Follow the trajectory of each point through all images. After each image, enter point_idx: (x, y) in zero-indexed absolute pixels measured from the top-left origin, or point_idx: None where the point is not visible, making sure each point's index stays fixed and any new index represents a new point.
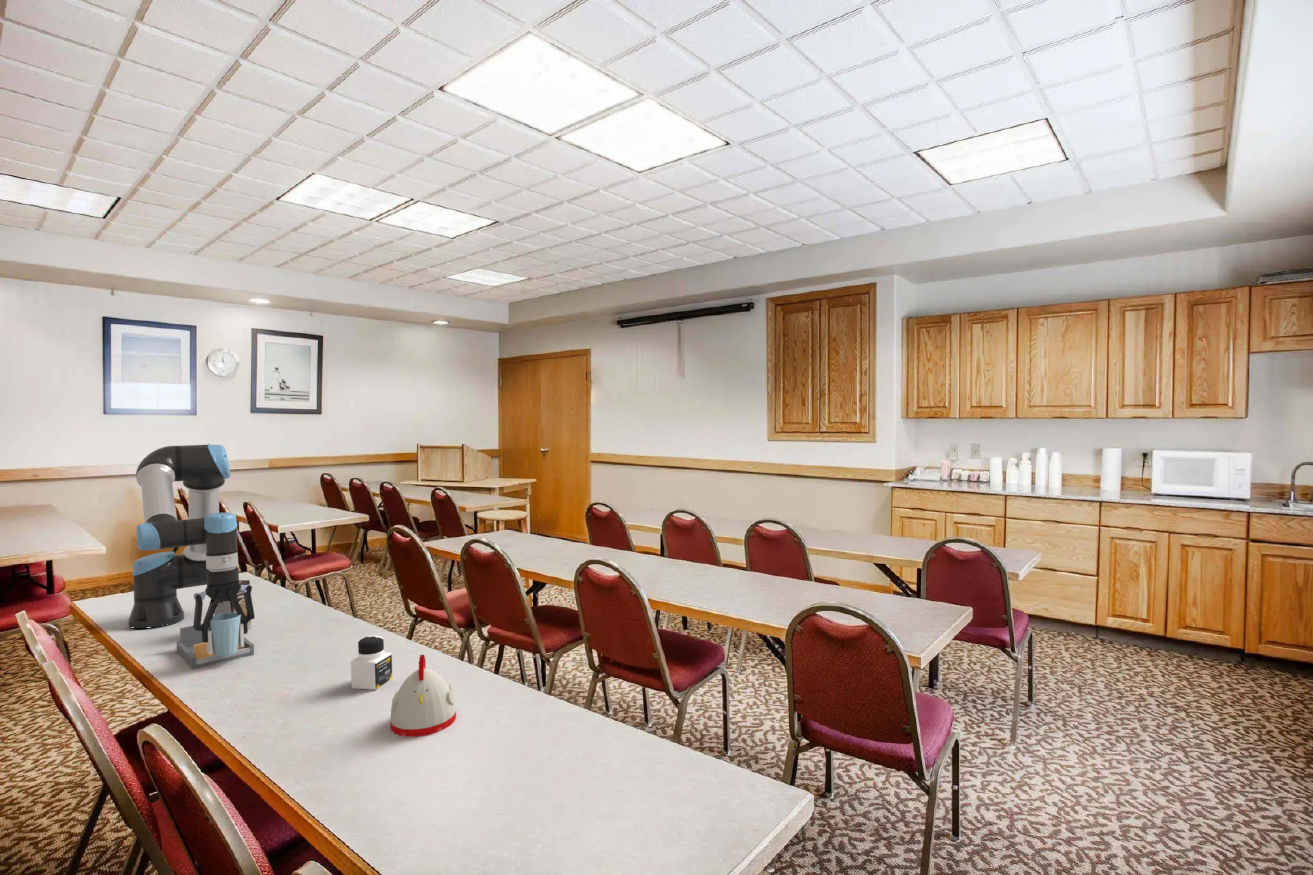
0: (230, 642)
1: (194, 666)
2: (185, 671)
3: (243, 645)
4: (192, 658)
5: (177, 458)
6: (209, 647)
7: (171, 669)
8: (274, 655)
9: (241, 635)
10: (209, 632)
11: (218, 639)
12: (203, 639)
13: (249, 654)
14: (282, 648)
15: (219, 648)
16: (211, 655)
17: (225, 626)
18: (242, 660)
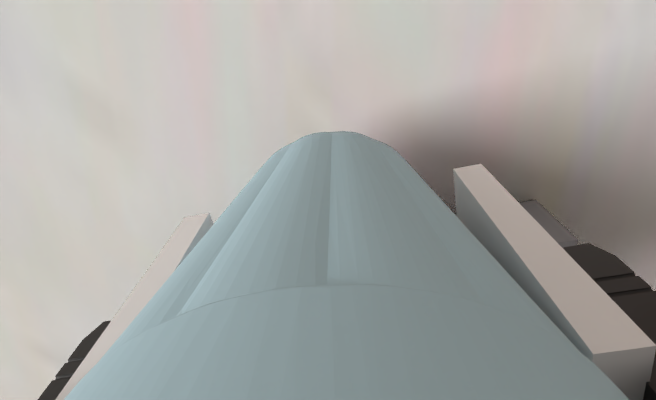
0: (284, 167)
1: (528, 210)
2: (576, 189)
3: (186, 222)
4: (571, 242)
5: None
6: (504, 196)
7: None
8: (28, 161)
9: (158, 286)
10: (615, 326)
11: (434, 203)
12: (626, 273)
13: None
14: (10, 275)
15: (401, 165)
16: None
17: (339, 297)
18: (236, 188)
